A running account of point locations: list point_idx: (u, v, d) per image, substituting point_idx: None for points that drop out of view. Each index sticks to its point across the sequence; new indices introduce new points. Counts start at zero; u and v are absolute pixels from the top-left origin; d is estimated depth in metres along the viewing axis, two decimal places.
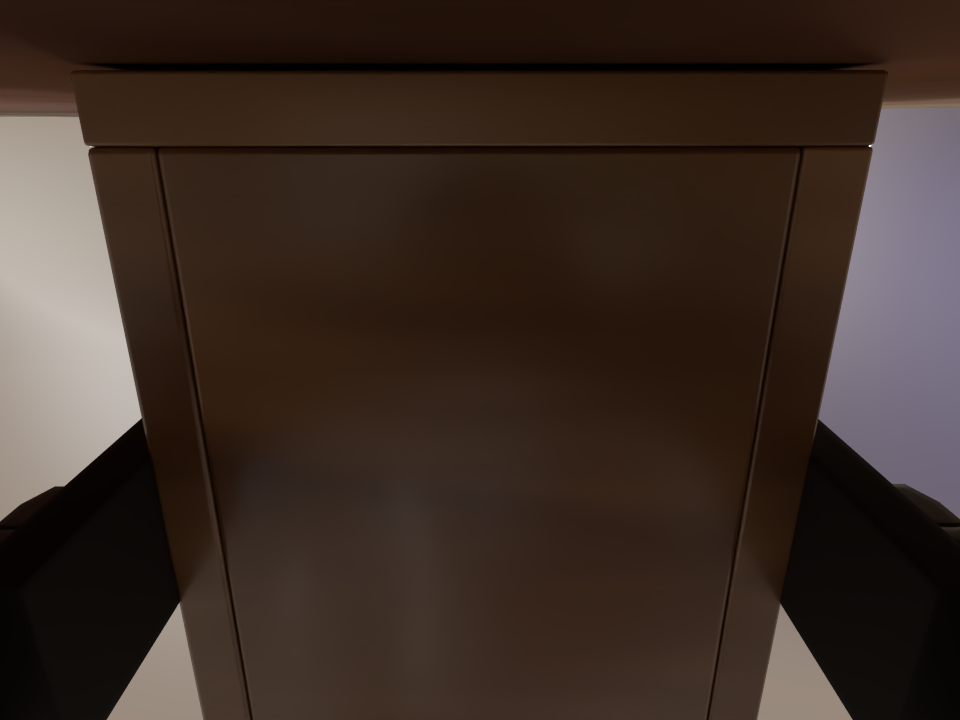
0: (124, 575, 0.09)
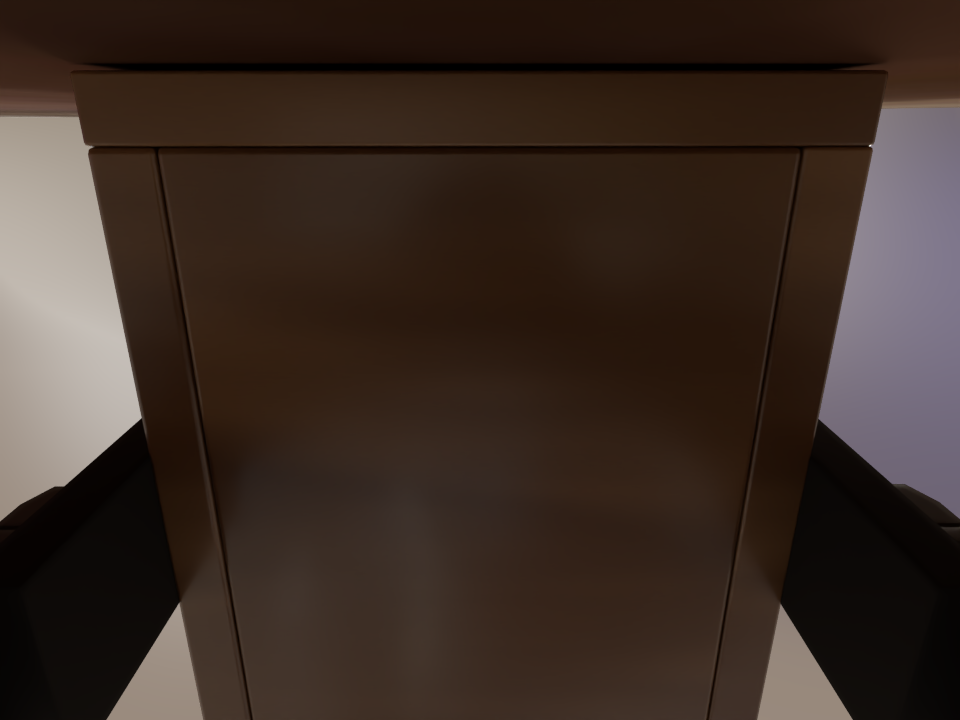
0: (124, 575, 0.09)
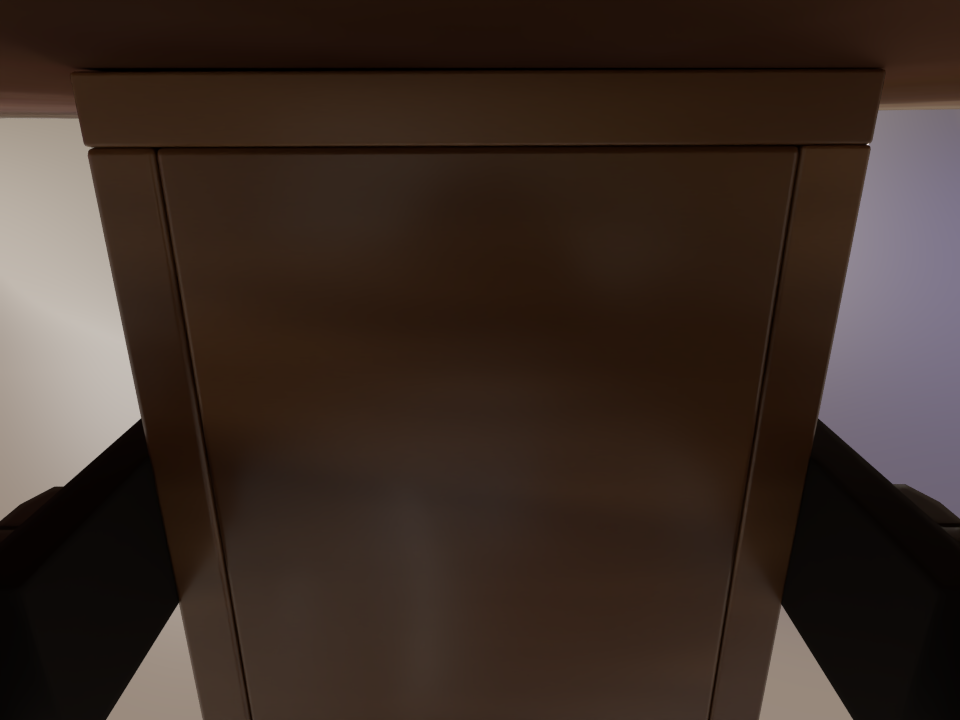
0: (123, 575, 0.09)
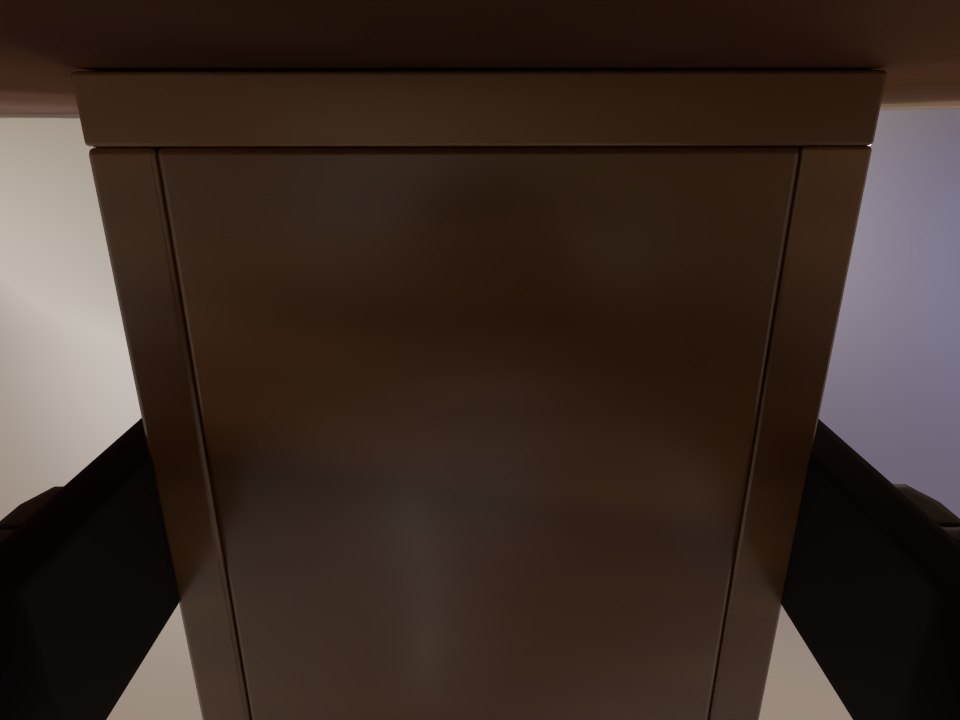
0: (123, 575, 0.09)
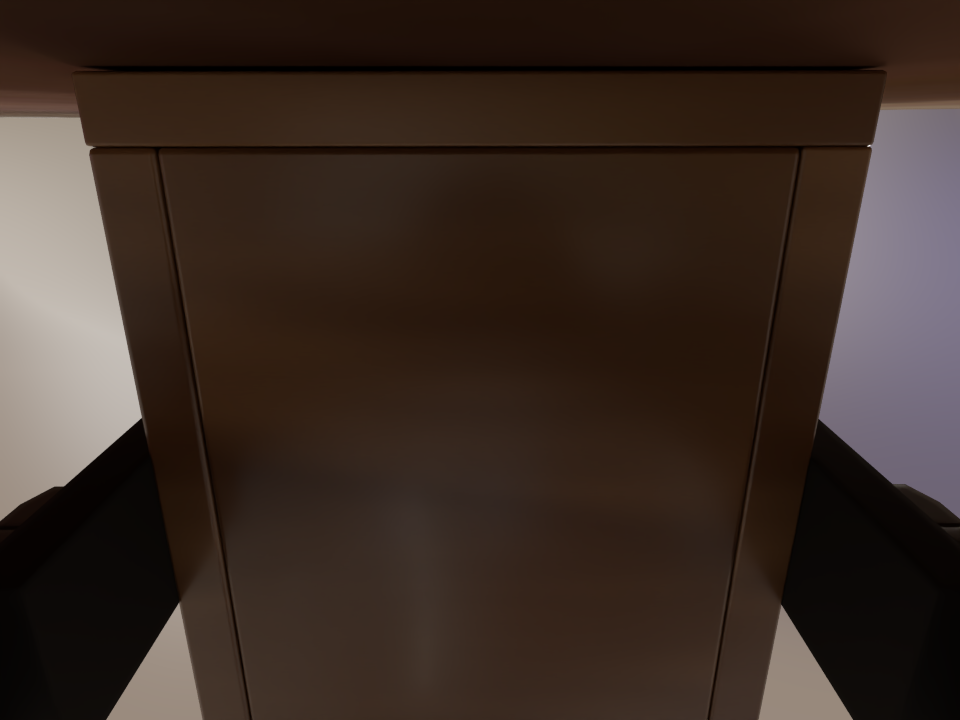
0: (124, 575, 0.09)
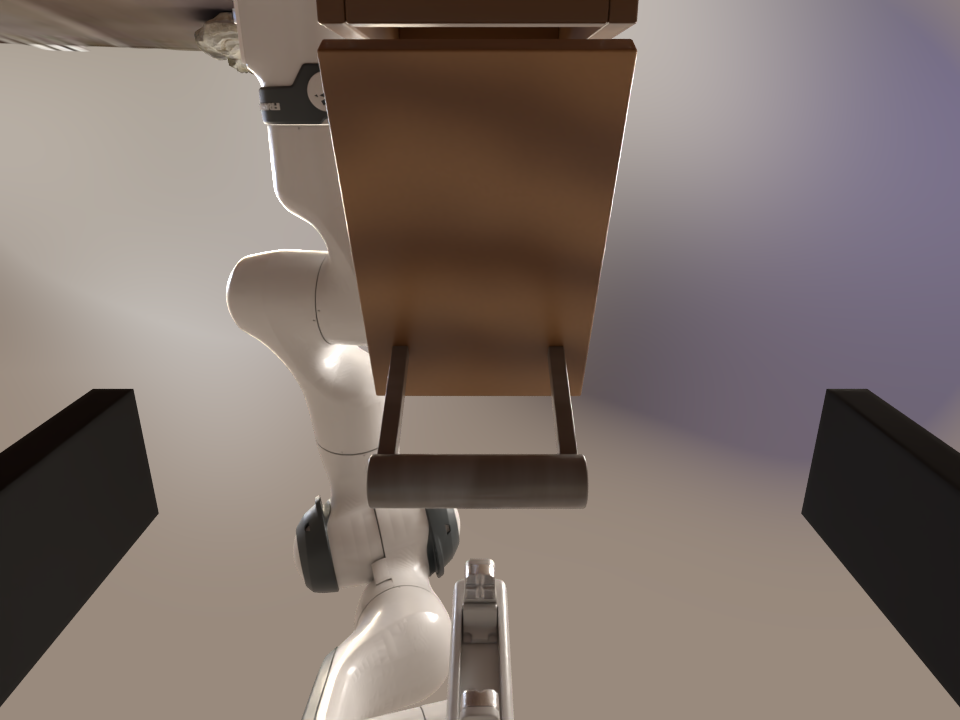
0: None
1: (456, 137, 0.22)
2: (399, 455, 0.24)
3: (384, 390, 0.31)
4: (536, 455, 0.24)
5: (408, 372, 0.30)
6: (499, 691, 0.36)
